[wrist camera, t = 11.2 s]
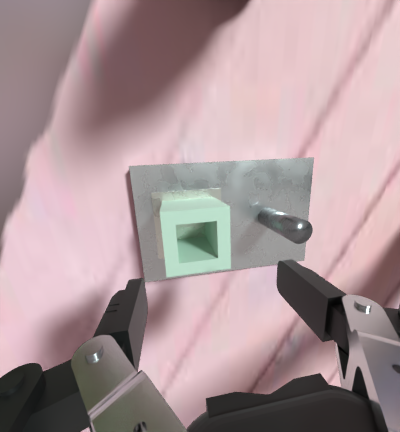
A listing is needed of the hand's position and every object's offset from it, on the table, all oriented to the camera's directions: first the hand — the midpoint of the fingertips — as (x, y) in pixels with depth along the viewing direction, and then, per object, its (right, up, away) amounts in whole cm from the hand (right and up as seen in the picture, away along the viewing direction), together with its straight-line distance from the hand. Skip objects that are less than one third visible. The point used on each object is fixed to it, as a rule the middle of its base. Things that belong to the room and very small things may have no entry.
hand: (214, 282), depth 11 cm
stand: (+3, +4, +14) cm, 14 cm away
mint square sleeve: (-2, +3, +11) cm, 12 cm away
